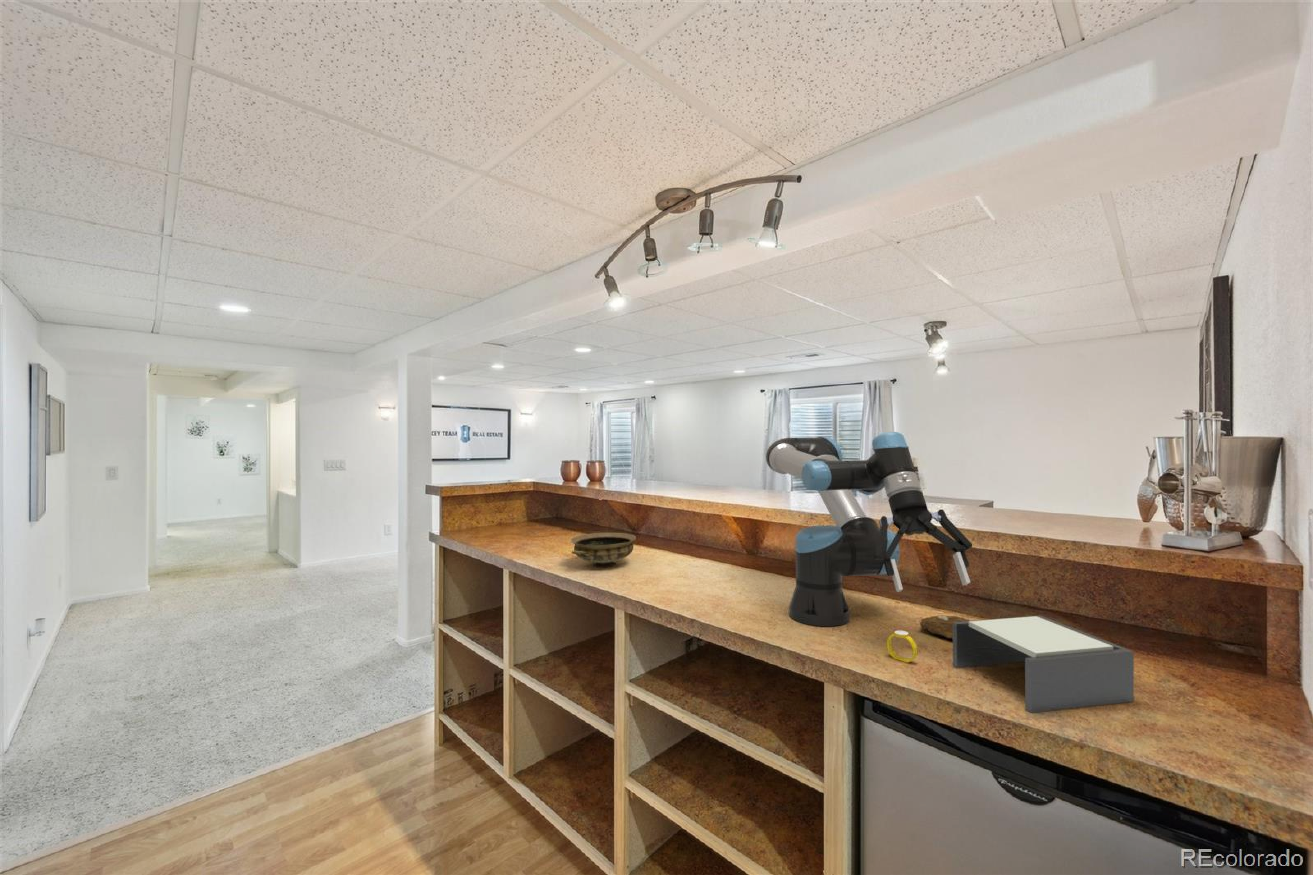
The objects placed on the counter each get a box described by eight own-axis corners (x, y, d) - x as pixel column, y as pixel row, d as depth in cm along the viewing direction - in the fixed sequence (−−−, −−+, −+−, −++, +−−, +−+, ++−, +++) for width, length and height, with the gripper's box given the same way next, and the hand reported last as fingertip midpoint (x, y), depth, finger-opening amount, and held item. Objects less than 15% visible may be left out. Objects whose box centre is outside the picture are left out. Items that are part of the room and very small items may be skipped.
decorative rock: (1001, 640, 125) (934, 625, 136) (1000, 623, 125) (934, 609, 137) (983, 651, 118) (914, 634, 129) (982, 632, 118) (913, 617, 129)
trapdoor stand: (952, 665, 111) (952, 622, 111) (1040, 657, 114) (1040, 615, 114) (1031, 712, 92) (1031, 660, 92) (1133, 701, 95) (1133, 651, 95)
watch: (885, 658, 115) (883, 630, 115) (892, 655, 117) (890, 627, 117) (913, 666, 110) (911, 636, 111) (920, 662, 112) (917, 633, 112)
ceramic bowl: (609, 553, 217) (608, 528, 217) (654, 561, 202) (654, 535, 202) (551, 568, 194) (550, 540, 194) (597, 579, 179) (597, 549, 179)
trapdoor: (968, 626, 110) (968, 621, 110) (1036, 621, 112) (1036, 616, 112) (1036, 658, 94) (1036, 653, 94) (1113, 651, 96) (1113, 646, 96)
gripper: (851, 495, 122) (875, 589, 112) (966, 481, 119) (1001, 577, 109) (847, 507, 129) (869, 596, 119) (956, 493, 126) (988, 584, 116)
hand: (932, 587), depth 114 cm, fingers open, 13 cm apart
